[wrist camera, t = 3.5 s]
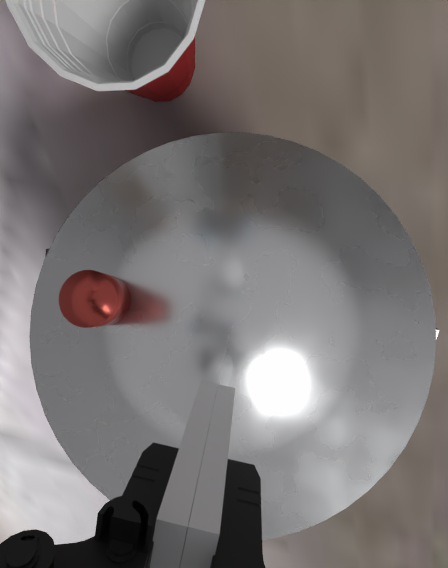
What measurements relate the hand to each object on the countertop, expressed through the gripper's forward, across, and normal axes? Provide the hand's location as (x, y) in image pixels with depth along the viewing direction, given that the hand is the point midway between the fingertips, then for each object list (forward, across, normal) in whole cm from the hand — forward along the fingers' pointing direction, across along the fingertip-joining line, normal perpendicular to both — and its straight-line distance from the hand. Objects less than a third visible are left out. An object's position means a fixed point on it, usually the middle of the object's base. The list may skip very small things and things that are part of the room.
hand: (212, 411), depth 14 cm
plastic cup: (+18, -10, +19) cm, 28 cm away
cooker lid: (+3, 0, +1) cm, 3 cm away
